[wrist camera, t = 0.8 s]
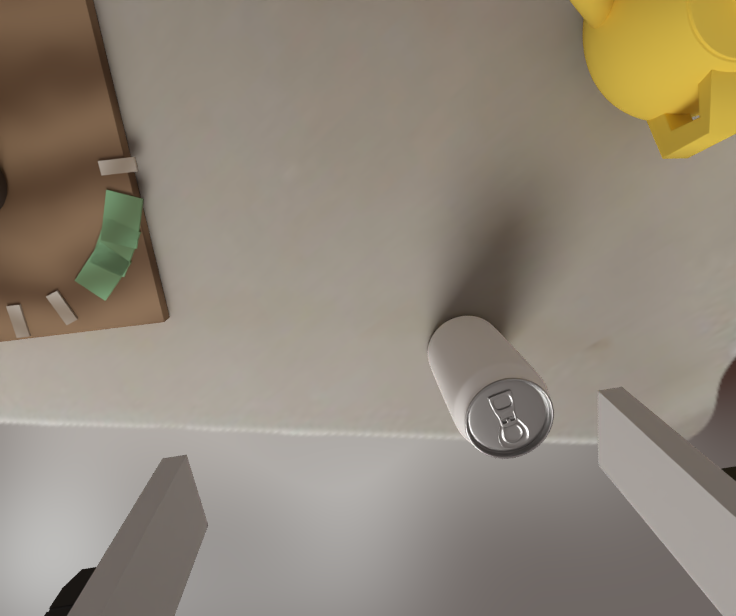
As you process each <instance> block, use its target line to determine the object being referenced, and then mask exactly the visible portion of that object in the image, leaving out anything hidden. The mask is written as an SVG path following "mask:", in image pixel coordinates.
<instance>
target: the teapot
mask: <svg viewBox="0 0 736 616" xmlns="http://www.w3.org/2000/svg"><path fill="white" fill-rule="evenodd" d="M570 1H571V3H572V4H573V5H574V7H575V8H576V9H577V10H578V12H579V13H580V14H581V16H582V17H583V18H584V21H583V48H584V55H585V59H586V63H587V66H588V70H589V72H590V74H591V77H592V79H593V81H594V82H595V84H596V86H597V88H598V89H599V90H600V92H601V93H602V94H603V95H604V97H605V98H606V99H607V100H608V101H610V102H611V103H612V104H613V105H614V106H616V107H617V108H619V109H620V110H622V111H623V112H625V113H627V114H629V115H631V116H633V117H636V118H640V119H643V120H647V123H648V125H649V128H650V130H651V132H652V135H653V137H654V139H655V142H656V144H657V146H658V149H659V151H660V154H661V156H662V158H663V159H668V158H689V157H691V156H693V155H695V154H697V153H699V152H701V151H703V150H705V149H706V148H708V147H710V146H712V145H714V144H716V143H718V142H720V141H722V140H724V139H726V138H728V137H730V136H732V135H734V134H736V0H570ZM697 115H700V118H697V119H695V120H692V117H694V116H697Z"/></svg>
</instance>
